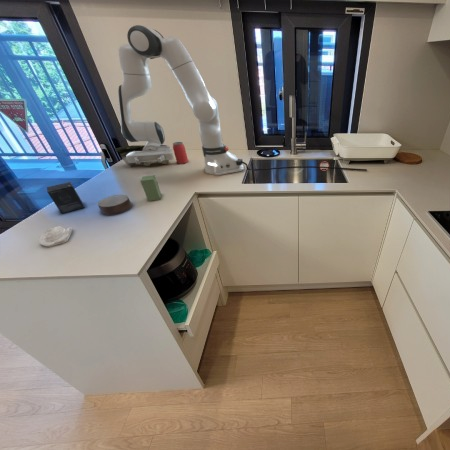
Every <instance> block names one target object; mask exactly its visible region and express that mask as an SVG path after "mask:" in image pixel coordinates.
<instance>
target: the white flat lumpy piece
mask: <svg viewBox="0 0 450 450" xmlns="http://www.w3.org/2000/svg"><path fill="white" fill-rule="evenodd" d="M72 232H73V227H71V226H70V227H67V228H66V229H65V228H64V227H63V226H61V225H56V226H54V227H49V228H47V229H46V231H45V232H44V234H42V235H40V236H39V240H38V243H39V244H40V245H41V246H44V247H47V248H50V247H54V246H56V245H61V244H65V243H66V242H68V241H69V238H70V236H71V235H72Z"/></svg>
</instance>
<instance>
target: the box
mask: <svg viewBox="0 0 450 450" xmlns="http://www.w3.org/2000/svg"><path fill="white" fill-rule="evenodd" d="M46 190H47V191H46V192H47V194H48V195H49V197H50V199H51V200H52V201H53V203H54V204H55V206H56V207H57V209H58V211H59V212H60V214H66V213H70V212H74V211H77V210H81V209H85V206H84V202H83V201H82V199H81V197H80V195H79V194H78V192H77V190H76V188H75V187H74V185H73V183H72V182H71V181H68V182H63V183H59V184H55V185H50V186H47V187H46Z"/></svg>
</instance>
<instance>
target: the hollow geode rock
mask: <svg viewBox="0 0 450 450" xmlns="http://www.w3.org/2000/svg"><path fill="white" fill-rule="evenodd" d="M145 145H146V144H145ZM145 145H143V144H142V145H140V144H139V145H137V144H135V145H126V146H122V147H115V148H114V150H115V153H119V155H120V157H121V159H122V160H123V162H124V163H125V164H126V165H127V166H130V167H133V166H136V165H137V166H139V165H140V166H141V165H142V166H150V165H151V164H153V163H154V162H151V161H150V162H140V163H139V164H136V163H129V162H128V161H127V158H126V155H127V154H129V153H130V152H135V151H142V150H143V148H144V146H145ZM156 163H159V164H162V165H168V164H169V163H170V160H163V161H162V162H158V161H157V162H156Z"/></svg>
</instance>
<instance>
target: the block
mask: <svg viewBox="0 0 450 450" xmlns="http://www.w3.org/2000/svg"><path fill="white" fill-rule="evenodd" d="M140 183H141V185H142V189H143V191H144V193H145V196H146V199H147V201H148V202H152V201H158V200H161V199H162V196H163V195H162V192H161V189H160V186H159V183H158V180H157V177H156V175H155V174H152V175H143V176H141V179H140Z"/></svg>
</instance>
